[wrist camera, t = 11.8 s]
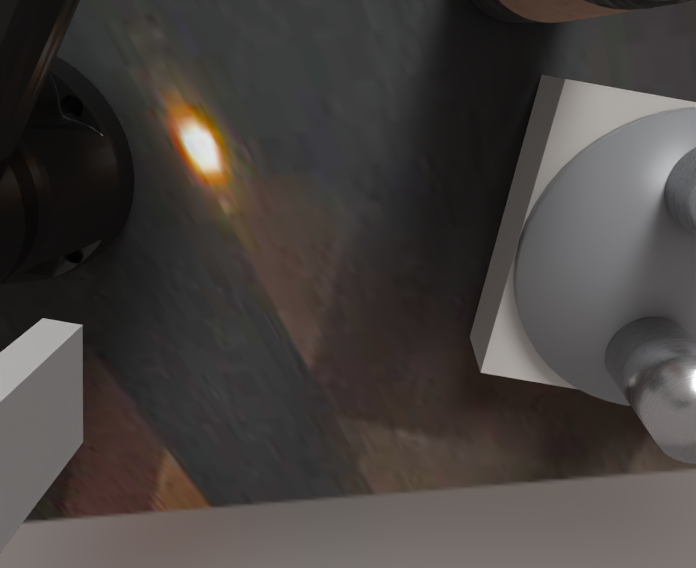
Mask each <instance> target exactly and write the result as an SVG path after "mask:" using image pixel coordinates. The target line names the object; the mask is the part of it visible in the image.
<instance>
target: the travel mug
mask: <svg viewBox="0 0 696 568" xmlns="http://www.w3.org/2000/svg"><path fill="white" fill-rule="evenodd" d="M470 1H471V2H472V3H473V4H474V5H475V6H476V7H477V8H478V9H479V10H480V11H481V12H483V13H484V14H486V15H487V16H489V17H491V18H494V19H497V20H499V21H504V22H510V23H558V22H568V21H574V20H580V19H586V18H592V17H598V16H604V15H610V14H617V13H623V12H629V11H635V10H641V9H647V8H653V7H660V6H666V5H672V4H677V3H681V2H686V1H690V0H470Z"/></svg>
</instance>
